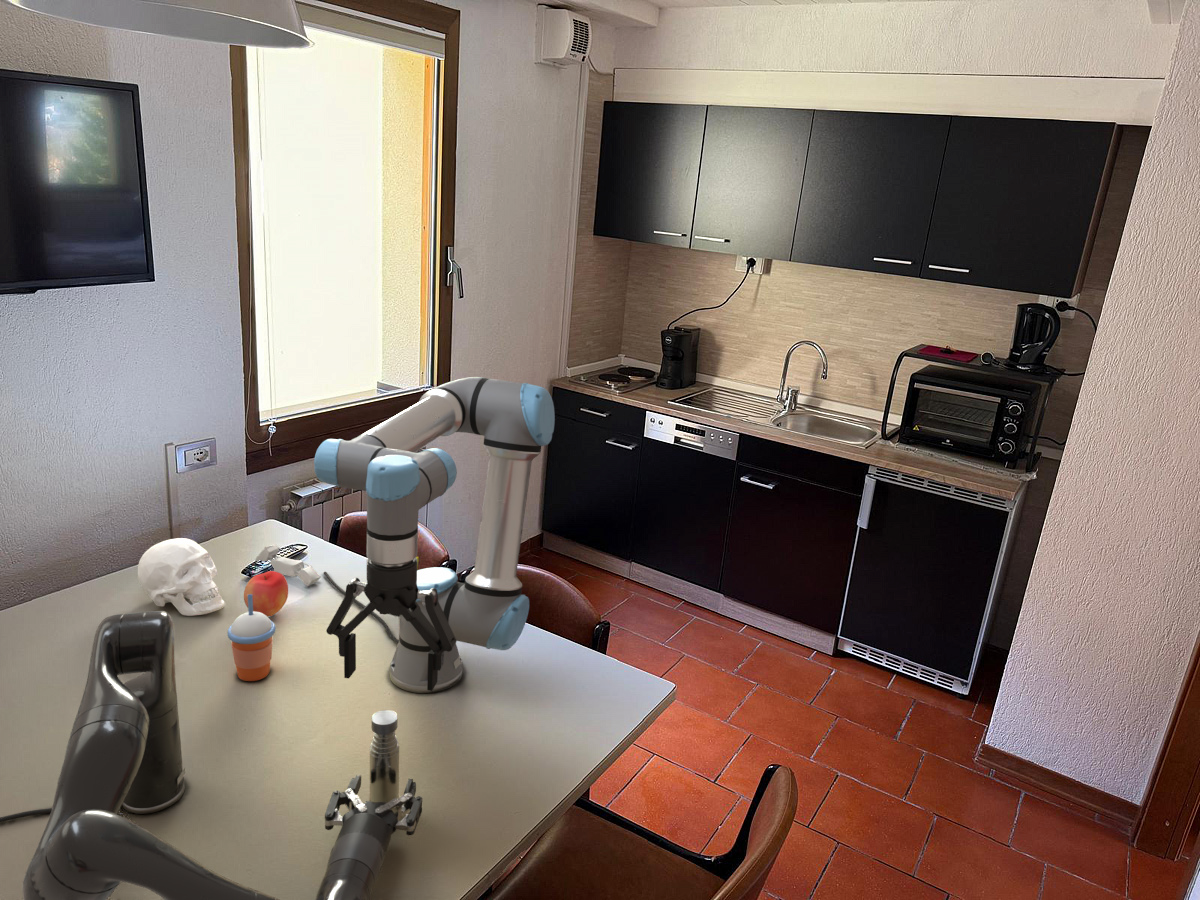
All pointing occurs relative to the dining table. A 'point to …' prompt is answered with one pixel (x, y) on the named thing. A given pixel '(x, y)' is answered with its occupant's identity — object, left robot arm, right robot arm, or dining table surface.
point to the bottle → (384, 768)
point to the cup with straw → (252, 643)
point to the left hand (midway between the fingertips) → (385, 781)
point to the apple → (267, 592)
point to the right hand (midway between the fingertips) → (391, 680)
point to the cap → (384, 722)
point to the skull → (180, 576)
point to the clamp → (288, 565)
